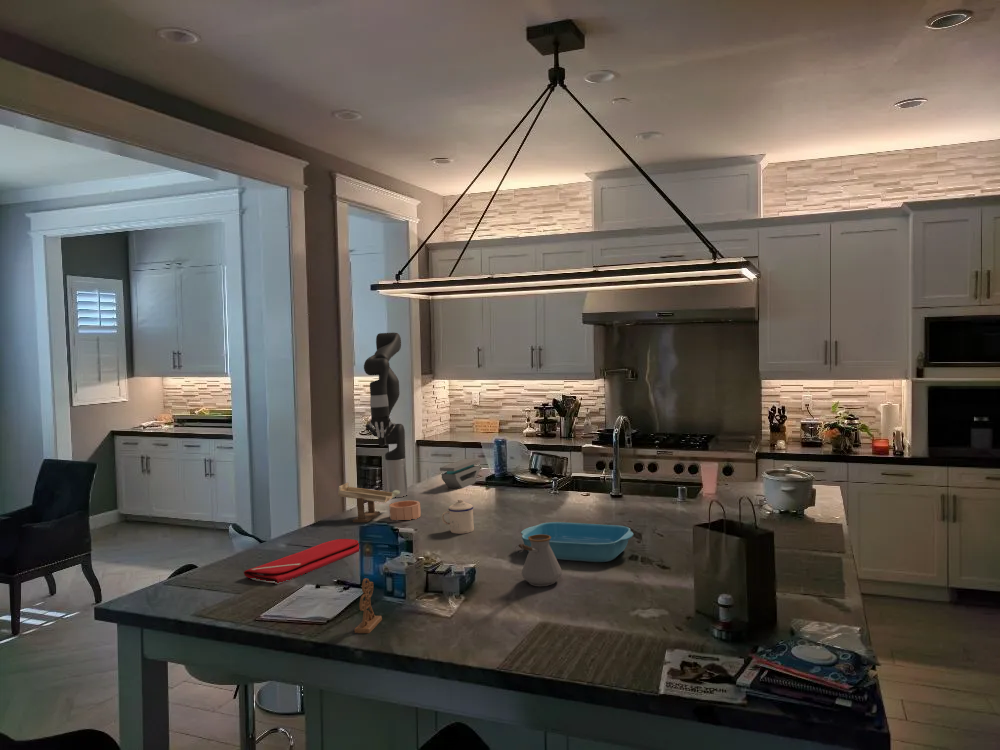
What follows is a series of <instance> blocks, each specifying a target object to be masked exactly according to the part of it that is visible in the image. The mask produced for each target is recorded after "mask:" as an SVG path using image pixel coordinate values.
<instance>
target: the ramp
mask: <svg viewBox="0 0 1000 750" xmlns="http://www.w3.org/2000/svg"><path fill="white" fill-rule="evenodd" d="M349 483H350V482H345V483H343V484H341V485H339V486H338V491H337V492H338V494H337V495H338V497H342V498H348V499H355V500H357V498H362V497H363V498H364V501H368V500H369V501H374V502H376V503H377V502H378V503H383V504H384V503H387V502H388V501H390V500H391V499H394V498H393V497H395V496H397V495H398V494H400V490H395V491H393V492H388V491H385V490H378V489H377V490H376V489H369V488H361V487H354V486H349Z"/></svg>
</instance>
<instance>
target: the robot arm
mask: <svg viewBox="0 0 1000 750" xmlns="http://www.w3.org/2000/svg"><path fill="white" fill-rule="evenodd" d="M375 344H376V351H375V352H374V353H373V355H371V356H369V357H367V359H366V360H365V362H364V364H363V370H364V373H365V374H366V375H368V376H378V379H377V380H373V381H371V382H370V383H369V394H370V396H369V398H370V399H369V401H370V403H369V405H370V413H371V414H370V417H371V418H370V422H369V423H368V424H367V425H366V426H365V427H366V429H367V430H368V431H369V433H370V434H371V435H372V436H373V437H376V438H377V440H378V441H377V442H378V443H377V445H378V446H379V447H385V446H386V445H396V447H395V448H393V449H392V450H389V451H388V452H386V453H385V455H384V459H385V471H386V473H385V474H386V485H387V486H386V487H387V492H393V491H395V490H400V494H398V495H397V496H395V497H396V498H402V497H403V496H404V497H407V496H408V495H409V487H408V475H407V463H406V462H407V461H406V432H405V427H404V425H403V423H394V422H392V421H391V418H390V416H391V412H392V410H393V408H394V407H395V405H396V403H397V402H398V400H399V398H400V381H399V378H398V377H397V375H396V374H395V372H394V371H393V369H392V368H391V366H390V361H391V359H392V358H393V357H394V356H395V355H396V354H397V353H399V352H400V351H401V348H402V337H401V335H400V334H399V333H398V332H382V333H381V332H380V333H377V335H376V339H375ZM406 495H407V496H406ZM395 497H393V498H392V499H394V498H395Z"/></svg>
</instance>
